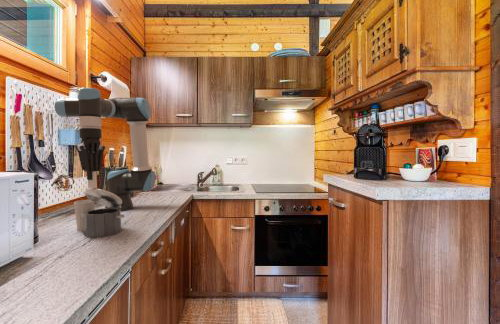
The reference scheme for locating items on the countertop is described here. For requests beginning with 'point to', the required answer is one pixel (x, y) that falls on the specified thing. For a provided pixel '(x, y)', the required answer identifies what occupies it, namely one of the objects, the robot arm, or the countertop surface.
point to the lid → (103, 197)
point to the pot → (102, 222)
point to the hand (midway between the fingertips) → (92, 187)
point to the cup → (82, 211)
